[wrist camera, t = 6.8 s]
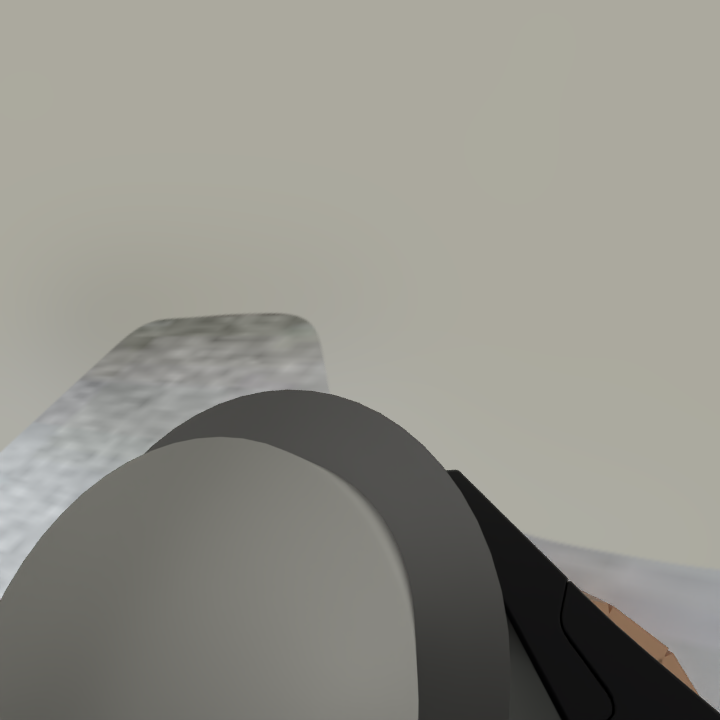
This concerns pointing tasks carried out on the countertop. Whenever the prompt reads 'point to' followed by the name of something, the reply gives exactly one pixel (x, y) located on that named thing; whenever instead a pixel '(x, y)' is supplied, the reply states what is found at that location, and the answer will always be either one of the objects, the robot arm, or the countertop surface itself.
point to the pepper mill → (262, 580)
